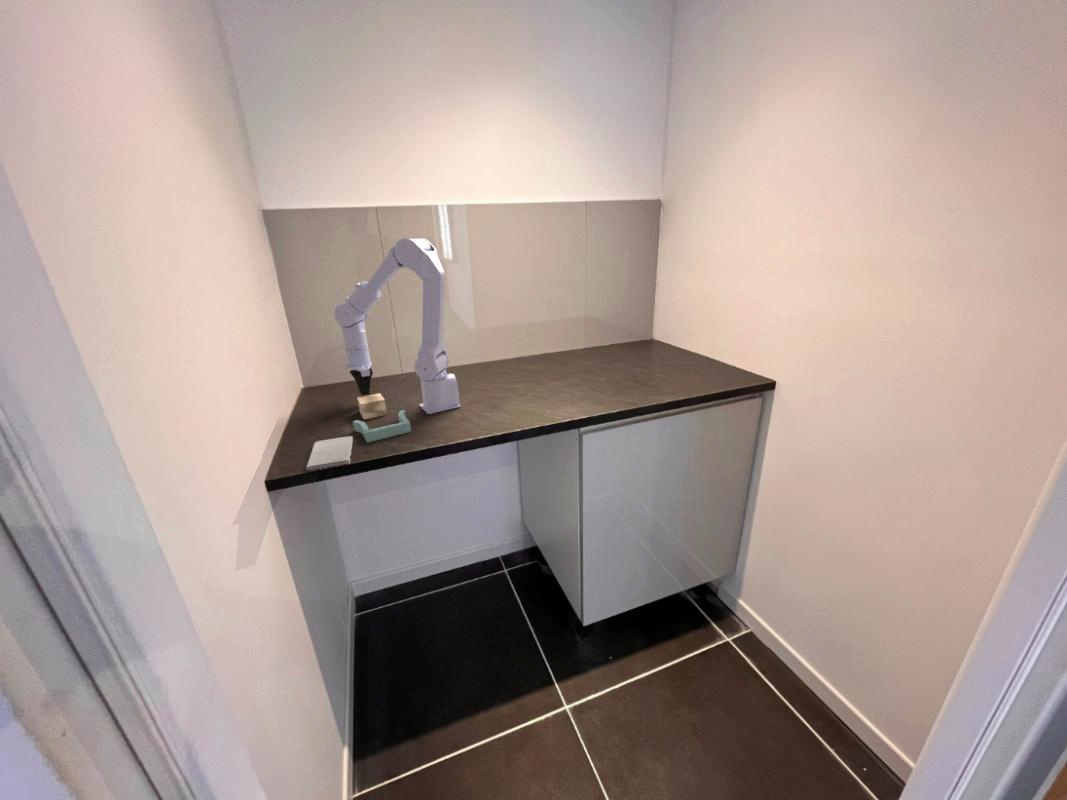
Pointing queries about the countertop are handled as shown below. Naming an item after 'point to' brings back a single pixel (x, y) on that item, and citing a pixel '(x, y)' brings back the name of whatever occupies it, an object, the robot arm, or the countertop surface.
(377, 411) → the birch block
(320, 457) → the hard drive
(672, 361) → the countertop surface
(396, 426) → the dock
